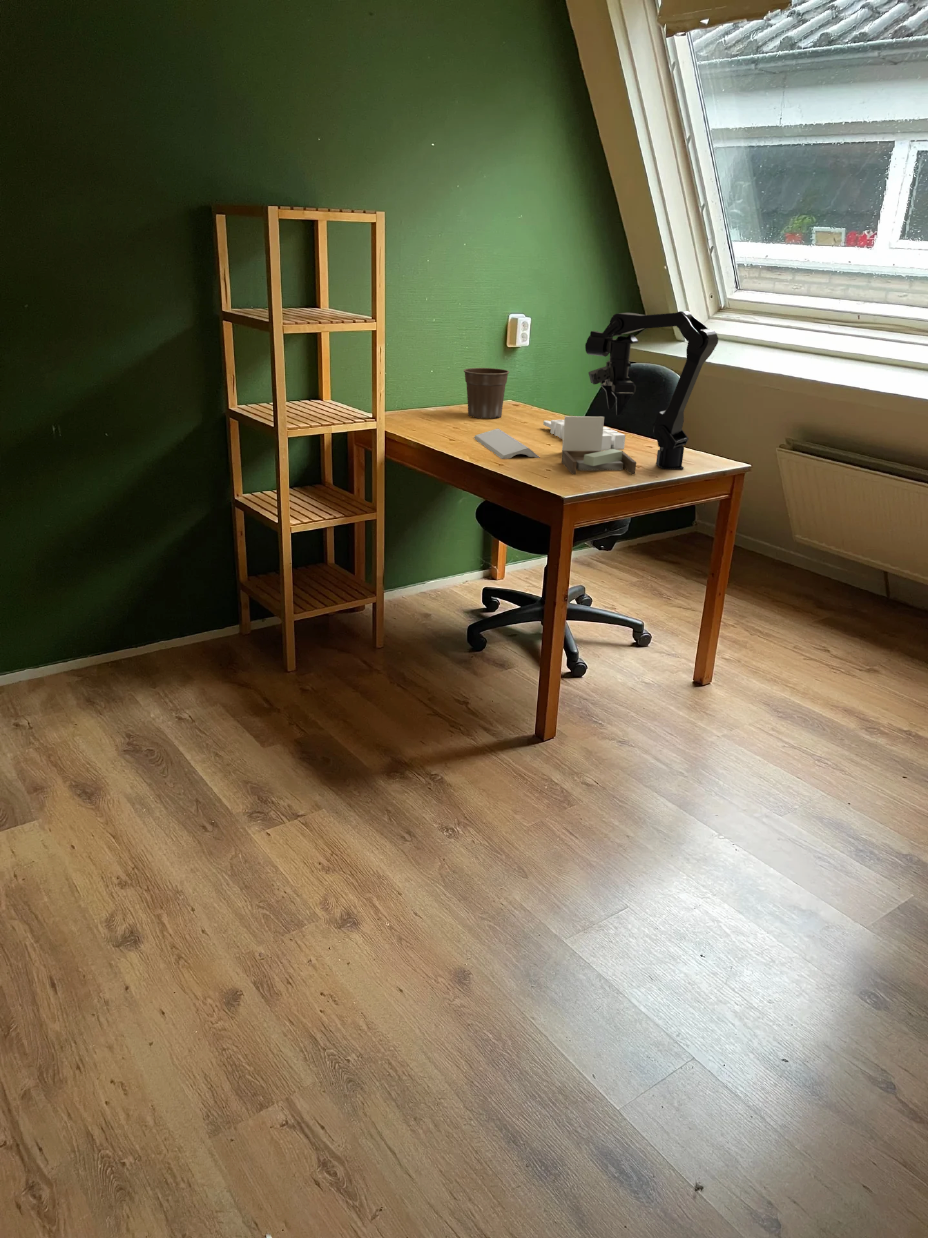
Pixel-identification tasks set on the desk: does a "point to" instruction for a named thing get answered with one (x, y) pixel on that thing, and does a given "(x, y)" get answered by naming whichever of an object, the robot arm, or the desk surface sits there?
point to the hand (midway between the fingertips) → (614, 412)
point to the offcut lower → (600, 466)
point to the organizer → (609, 437)
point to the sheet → (582, 433)
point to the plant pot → (485, 391)
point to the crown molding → (503, 444)
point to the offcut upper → (602, 457)
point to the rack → (572, 456)
